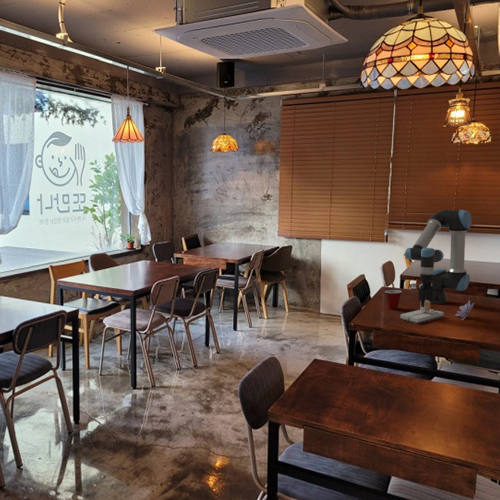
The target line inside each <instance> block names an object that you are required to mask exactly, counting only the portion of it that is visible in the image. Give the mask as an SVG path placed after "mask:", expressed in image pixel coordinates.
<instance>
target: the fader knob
mask: <svg viewBox="0 0 500 500" xmlns="http://www.w3.org/2000/svg"><path fill="white" fill-rule="evenodd" d="M419 302H420V303H419V304H420V305H419V310H421V301H419ZM425 302H426V311H429V310H430V309H431V305H432V303H431V302H428V301H425ZM426 311H425V312H424V313H426Z"/></svg>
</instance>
